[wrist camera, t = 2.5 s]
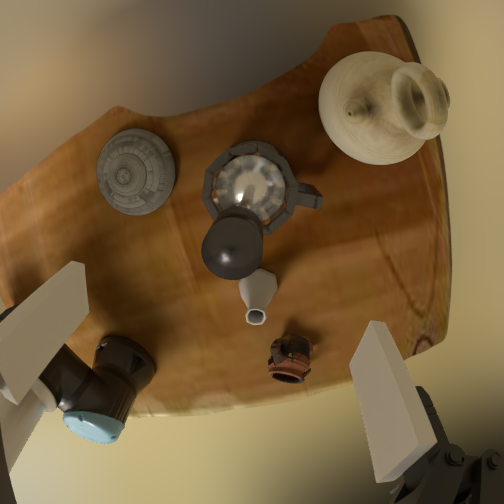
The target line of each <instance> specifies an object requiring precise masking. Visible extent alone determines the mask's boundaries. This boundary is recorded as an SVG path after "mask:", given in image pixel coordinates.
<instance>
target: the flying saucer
mask: <svg viewBox="0 0 504 504" xmlns="http://www.w3.org/2000/svg"><path fill="white" fill-rule="evenodd" d="M96 173H97V182H98V186H99V189H100V191H101V193H102V195H103V197H104V198H105V199H106V201H107V202H108V203H109V204H110V205H111V206H112V207H113V208H115V209H116V210H118V211H120V212H122V213H124V214H128V215H133V216H139V215H145V214H149V213H151V212H153V211H155V210H156V209H158V208H159V207H160V206H162V205H163V204H164V202H165V201H166V200H167V198H168V197H169V195H170V193H171V191H172V188H173V185H174V181H175V164H174V159H173V156H172V154H171V151H170V150H169V148H168V146H167V145H166V143H165V142H164V141H163V140H162V139H161V138H160V137H159V136H157V135H156V134H154V133H152V132H150V131H148V130H144V129H138V128H134V129H127V130H124V131H121V132H119V133H117V134H116V135H114V136H113V137H112V138H111V139H110V140H109V141H108V142H107V143H106V144H105V146H104V147H103V149H102V151H101V153H100V155H99V158H98V162H97V171H96Z"/></svg>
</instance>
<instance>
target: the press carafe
mask: <svg viewBox="0 0 504 504" xmlns="http://www.w3.org/2000/svg"><path fill="white" fill-rule="evenodd" d="M245 155H257V156H261V157H264V158H266V159H268V160H269V161H271V162H272V163H273V164H274V165H275V166H276V167H277V168H278V169H279V171H280V172H281V174H282V177H283V180H284V184H285V194H284V199H285V203H286V206H284V202H283V201H282V204H281V205H280V207H279V209H278V210H277V211H276V212H275V213H274V214H273V215H272V216H270V223H269V224H268V225H265V220H262V221H261V222H262V225H263V235H270V234H272V233H273V232H274V231H275V230H276V229H277V228H279V227H280V226H281V225H282V224H283V223H284V222H285V221H286V220H288V219H289V218H290V217H291V216H292V215H293V210H294V206H295V205H300V206H305V207H310V208H315V209H320V210H321V206H322V202H323V198H324V197H323V196H322V195H321V194H320V193H319V191H318V190H317V189H316V188H315V187H314V186H313V185H310V184H306V183H301V182H296V179H295V177H294V175H293V173H292V171H291V169H290V165H289V163H288V161H287V159H286V157H285V156H284V155H283V153H282V152H281V151H280V150H279V149H277V148H276V147H275V146H273V145H271V144H269V143H266V142H263V141H256V140H254V141H246V142H242V143H240V144H237V145H235V146H234V147H232V148H228V149H226V150H225V151H224V152H223V153H222V154H221V155H220V156H219V157H218V158H217V159H216V160H215V161H214V162H213V163H212V164H211V165H210V166H209V167H208V168H207V169H206V172H205V179H204V186H203V194H202V200H203V202H204V204H205V206H206V208H207V210H208V212H209V213H210V215H211V217H212V219H213V221H215V219H216V217H217V216H218V215H219V214H220V213H221V212H222V210H223V208H222V206H221V205H220V203H219V201H218V197H217V193H216V192H215V194H214V195H213V196H211V194H212V191H213V190H214V189H215V188H216V185H217V180H218V177H219V174H220V173H221V171H222V169H223V168H224V167H225V166H226V165H227V164H228V163H229V162H230V161H232V160H234V159H235V158H238V157H241V156H245Z"/></svg>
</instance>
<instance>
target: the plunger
mask: <svg viewBox="0 0 504 504" xmlns="http://www.w3.org/2000/svg"><path fill="white" fill-rule="evenodd" d="M216 193H217V197H218V201H219V203H220V205H221V206H222V208H223V209H224V210H223V211H222V212H221V213H220V214H219V215H218V216H217V217H216V219H215V221H214V222H213V224H212V226H211V227H210V229H209V231H208V233H207V234H206V236H205V238H204V240H203V243H202V248H201V252H202V258H203V261H204V263H205V265H206V266H207V268H208V269H209V270H210V271H211V272H212V273H214V274H215V275H217V276H218V277H221V278H223V279H227V280H239V279H243V278H246V277H248V276H250V275H251V274H252V273H254V272H255V271H256V269H257V268H258V267H259V265H260V263H261V260H262V252H263V225H262V222H261V221H262V220H265V219H267V218H269V217H270V216H272V215H273V214H274V213H275V212H276V211H277V210H278V209H279V207H280V205H281V204H282V201H283V199H284V194H285V184H284V180H283V177H282V174H281V172H280V171H279V169H278V168H277V167H276V166H275V165H274V164H273V163H272V162H271V161H269V160H268V159H266V158H264V157H261V156H257V155H245V156H241V157H238V158H235V159H234V160H232V161H230V162H229V163H228V164H227V165H226V166H225V167H224V168H223V169H222V171H221V173H220V174H219V177H218V180H217V185H216Z"/></svg>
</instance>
